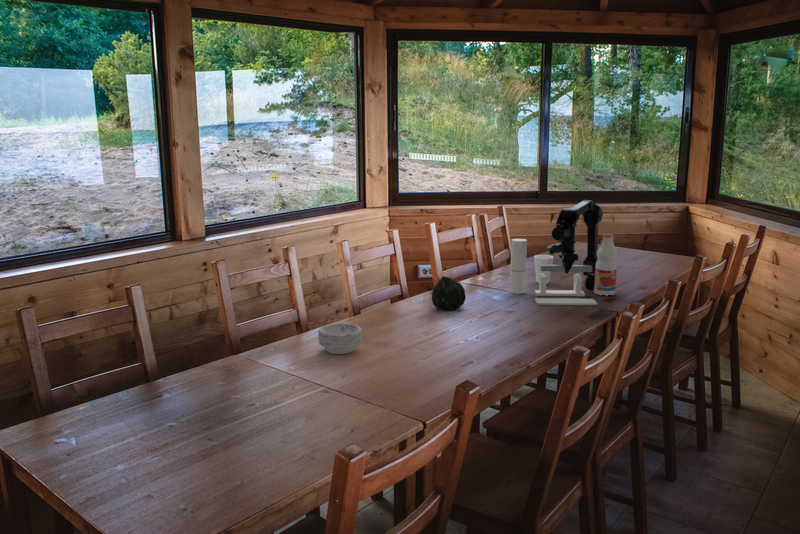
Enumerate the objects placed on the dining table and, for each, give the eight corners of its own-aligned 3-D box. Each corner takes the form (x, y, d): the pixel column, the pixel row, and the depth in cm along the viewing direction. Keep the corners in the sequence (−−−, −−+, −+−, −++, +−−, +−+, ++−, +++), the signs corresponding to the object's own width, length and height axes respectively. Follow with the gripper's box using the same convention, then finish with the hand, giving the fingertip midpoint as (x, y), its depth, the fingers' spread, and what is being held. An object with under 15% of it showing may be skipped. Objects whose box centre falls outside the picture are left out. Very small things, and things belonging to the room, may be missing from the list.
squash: (474, 292, 276) (451, 267, 276) (468, 303, 262) (445, 276, 262) (450, 311, 281) (428, 286, 281) (443, 322, 267) (420, 296, 267)
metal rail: (590, 270, 278) (590, 265, 278) (592, 272, 275) (592, 266, 275) (540, 269, 280) (540, 264, 279) (541, 271, 277) (541, 265, 276)
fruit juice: (607, 290, 300) (610, 232, 293) (619, 295, 291) (623, 235, 285) (589, 292, 297) (593, 233, 291) (601, 297, 288) (605, 236, 282)
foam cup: (547, 285, 310) (548, 259, 307) (530, 282, 316) (531, 257, 313) (555, 281, 318) (556, 256, 315) (538, 278, 323) (539, 254, 320)
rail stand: (582, 292, 295) (583, 274, 293) (585, 296, 290) (586, 277, 288) (534, 292, 297) (535, 273, 295) (536, 295, 291) (537, 276, 289)
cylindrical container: (524, 290, 301) (526, 238, 296) (525, 293, 294) (527, 241, 289) (509, 289, 302) (510, 238, 297) (510, 293, 295) (512, 241, 290)
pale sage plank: (593, 300, 283) (593, 298, 282) (597, 305, 275) (597, 303, 275) (534, 299, 284) (534, 298, 284) (537, 304, 276) (537, 303, 276)
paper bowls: (362, 342, 230) (362, 321, 229) (361, 357, 215) (361, 335, 214) (320, 343, 230) (320, 322, 228) (316, 358, 215) (316, 336, 213)
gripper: (545, 234, 284) (544, 267, 287) (552, 240, 266) (550, 276, 269) (570, 234, 283) (568, 268, 287) (579, 241, 265) (577, 277, 268)
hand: (565, 272), depth 278 cm, fingers closed on metal rail, 3 cm apart
